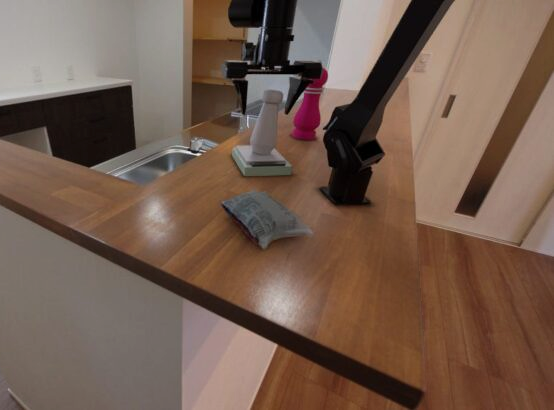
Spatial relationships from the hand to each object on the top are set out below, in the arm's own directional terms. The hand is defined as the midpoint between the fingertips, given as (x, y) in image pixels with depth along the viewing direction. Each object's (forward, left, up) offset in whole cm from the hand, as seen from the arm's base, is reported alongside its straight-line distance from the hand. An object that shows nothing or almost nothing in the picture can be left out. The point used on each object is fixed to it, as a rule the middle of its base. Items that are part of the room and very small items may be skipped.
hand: (264, 114), depth 63 cm
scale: (-1, 0, -11) cm, 11 cm away
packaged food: (-26, +7, -11) cm, 29 cm away
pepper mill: (+19, -19, -11) cm, 29 cm away
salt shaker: (0, 0, -8) cm, 8 cm away
